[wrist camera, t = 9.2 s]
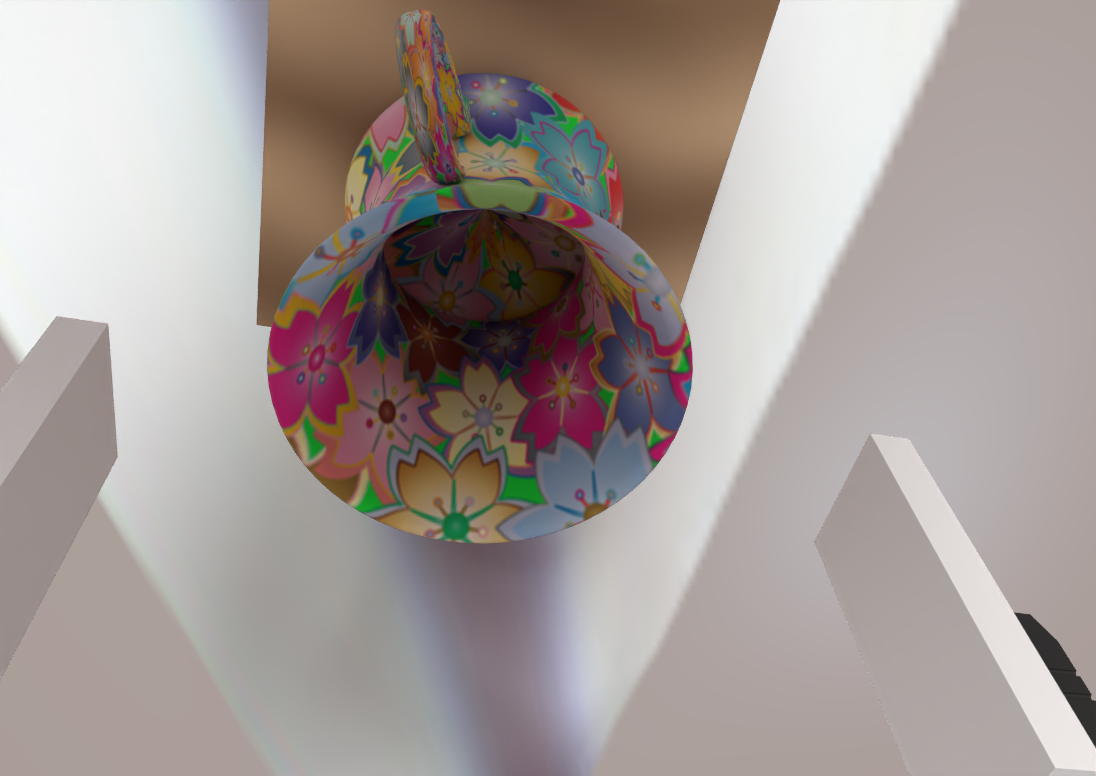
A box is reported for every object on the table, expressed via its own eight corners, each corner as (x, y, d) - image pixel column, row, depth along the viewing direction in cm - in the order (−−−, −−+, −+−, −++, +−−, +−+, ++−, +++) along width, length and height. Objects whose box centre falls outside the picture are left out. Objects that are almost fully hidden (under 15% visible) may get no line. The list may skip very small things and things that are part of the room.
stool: (320, -162, 29) (274, -144, 23) (731, -66, 32) (788, -27, 25) (295, 232, 37) (256, 324, 31) (628, 288, 39) (653, 384, 33)
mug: (645, 305, 31) (706, 515, 22) (379, 348, 32) (337, 571, 23) (602, -83, 24) (665, 1, 16) (265, -20, 25) (142, 94, 16)
